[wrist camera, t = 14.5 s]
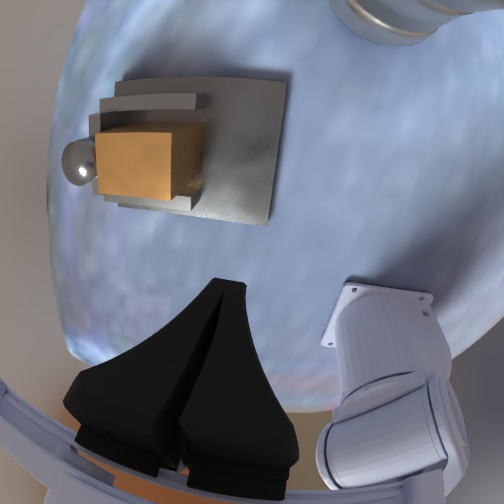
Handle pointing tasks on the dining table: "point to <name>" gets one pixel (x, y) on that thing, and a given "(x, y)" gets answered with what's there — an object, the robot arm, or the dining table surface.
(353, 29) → the plastic bottle
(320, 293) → the dining table surface
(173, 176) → the block
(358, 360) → the robot arm
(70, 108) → the dining table surface
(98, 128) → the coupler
